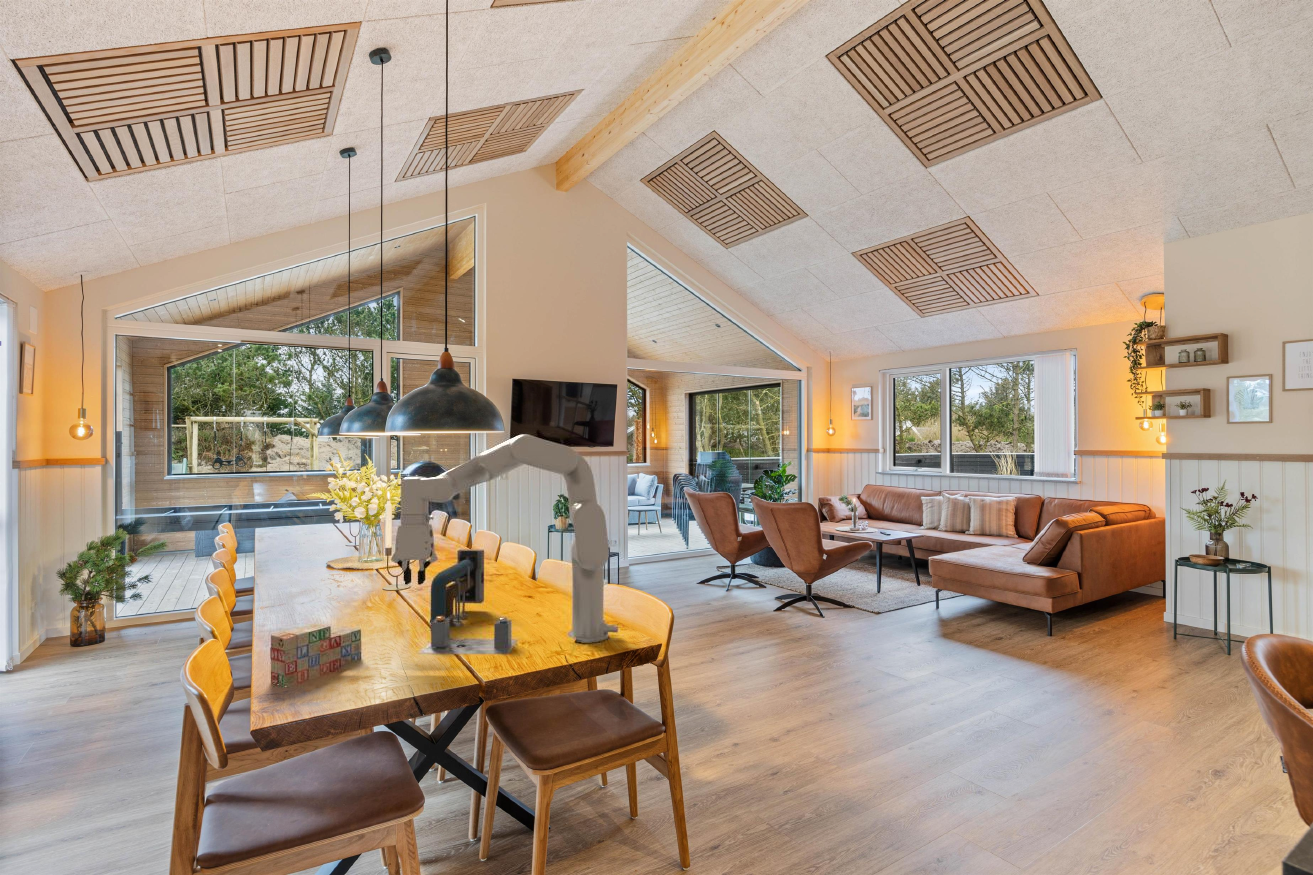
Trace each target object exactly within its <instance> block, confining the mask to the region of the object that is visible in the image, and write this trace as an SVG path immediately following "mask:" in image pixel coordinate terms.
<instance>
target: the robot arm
mask: <svg viewBox="0 0 1313 875" xmlns="http://www.w3.org/2000/svg"><path fill="white" fill-rule="evenodd" d="M523 465H526V466H529V467H533V468H537V469H540V470H543V471H547V472H550V473H554V474H558V475H562V477H563V479H564V481H565V485H566V491H567V498H568V511H569V520H570V523H571V524H572V526H573V531H574V541H573V542H572V545H571V551H570V553H571V566H572V567H571V571H572V573H571V574H572V586H571V588H572V592H571V593H572V594H571V595H572V597H571V598H572V602H571V603H572V604H571V606H572V609H571V610H572V615H571V616H572V618H571V620H572V621H571V622H572V625H571V626H572V630H570V631H568V632H567V637H568V638H571V639H575V640H574V642H575V643H579V642H581V644H590V643H593V642H594V643H599V641H600V642H604V641H605V640H608V638H609V633H615V634H617V633H619V626H618V625H615V624H607V623H606V620H605V619H604V588H605V587H604V585H605V584H604V583H605V582H604V581H605V580H604V579H605V577H604V566H605V565H606V564H607V561H608V560H609V556H610V550H609V549H610V548H609V536H608V527H607V521H606V515H605V511H604V510H603V508H602V507H601V505H599V504H598V501H597V500H598V499H597V493H596V484H595V480H594V474H593V471H592V468H591V466H590V464H589V463H588V461H587V460H586V459H585V458H584V457H583V455H581V454H580V453H579V452H577V450H574V449H573V448H572V447H570V446H568V445H565V444H561V443H557V442H554V441H550V440H546V439H543V438H539V437H536V436H534V435H531V434H528V433H527V434H526V433H525V434H524V433H523V434H519V435H516V436H515V437H512V438H510V439H508V440H506V441H504V442H502V443H499V444H498V445H495V446H494V447H492V448H490V449H487V450H485V451H483V452H481V453H479V454H477V455H476V456H474V457H473V458H471V459H469V460H467V461H466V462H464V463H462V464H460V465H458V466H455V467H453V468H452V469H450V470H447V471H446V472H445V471H444V472H443V473H441V474H439V475H437V476H435V477H428V478H427V477H425V476H406V477H403V478H402V479H401V481H400V524H398V525H397V530H396V536H395V547H394V552H393V555H392V557H391V558H390V560H391V561H392V562H393V563H395V564H396V565H398V566H399V568H401V570H402V571H403V582H404V585H405V586H407V585H410V584H411V583H412V569H411V567H410V564H411V561H417V560H418V565H419V569H418V570H417V585H418V586H422V585H423V584H424V582H425V581H426V570H427V568H428V567H430V565H432V564H433V563H435V562H436V561H437V562H438V560H439V557H438V556H437V554H436V552H435V539H434V536H435V535H434V531H433V529H434V528H433V526H432V523H430V522H431V521H433V520H434V516H433V515H430V513H429V502H433V503H447V502H449V501H451V500H452V499H453V498H454V496H456V495H458V494H460V493H463V491H466V490H468V489H470V488H472V487H475V486H477V485H479V484H482V483H487V482H491V481H493V480H495V479H498V478H500V477H501V476H503V475H506V474H507V473H509V472H511V471H513V470H515V469H517V468H519V467H522V466H523ZM594 643H593V644H594Z"/></svg>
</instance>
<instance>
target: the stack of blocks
mask: <svg viewBox="0 0 1313 875" xmlns="http://www.w3.org/2000/svg"><path fill="white" fill-rule="evenodd" d="M269 648H270V649H269V651H270V654H269V655H270V683H271V682H272V683H271V684H273V683H276V684H279V685H278V686H280V685H282V686H281V687H283V686H288V687H290V686H289V685H291V686H293V684H294V685H296V683H297V684H301V683H303V682H305V681H310V680H313V679H316V678H318V677H319V678H320V677H321V676H324V675H327V674H330V673H333V672H337V671H340V670H339V669H341V668H342V667H344V666H345V665H346V664H348V663H351V662H355V661H357V660H361V659H362V629H361V628H357V627H352V626H347V625H346V626H342V627H339V628H334V629H332V627H331V625H329V624H328V625H325V624H322V623H319V622H318V623H317V622H315V623H311V624H307V625H303V626H299V627H295V628H293V629H289V630H288V629H287V630H285V631H281V632H277V633H273V634H270V647H269ZM336 670H337V671H336ZM276 684H275V685H276Z"/></svg>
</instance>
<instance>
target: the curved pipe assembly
mask: <svg viewBox="0 0 1313 875" xmlns="http://www.w3.org/2000/svg"><path fill="white" fill-rule="evenodd" d="M456 555H457V563H455V564H454V565H452V566H450V567H448V568H446V569H443V570H441V571H439V572H438V573H437V574H436V575H435V576H434V577H433V579H432V580H431V584H430V585H431V586H430V619H429V624H431V622H432V621H433V620H435V619H436V617H437V616H445V619H450V627H451V628H452V627H453V628H455V627H459V628H460V627H461V626H462V625H463V626H464V623H463V622H462V620H466V619H467V618H468V614H465V610H466V609H465V604H483V603H484V602H485V550H484V549H466V548H464V549H462V548H461V549H458V550H457V554H456ZM461 604H462V609H461ZM461 611H462V613H461ZM463 626H462V627H463ZM462 627H461V628H462ZM429 631H430V632H431V629H430V630H429Z"/></svg>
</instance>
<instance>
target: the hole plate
mask: <svg viewBox="0 0 1313 875" xmlns="http://www.w3.org/2000/svg"><path fill="white" fill-rule="evenodd" d="M518 641H519V638H511V645H510V647H509V648H494V638H450V640H449V644H448V645H447V646H446V647H431V641H430V642H429V643H428V644H427V645H425V646H424V647H423V648H422V649H421V650H420V651H419V652H418V653H417V654H419V655H429V654H431V655H509V653H510V652H511V651H512V649H513V648H514V646H515V645H516V644H517V642H518Z"/></svg>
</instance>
